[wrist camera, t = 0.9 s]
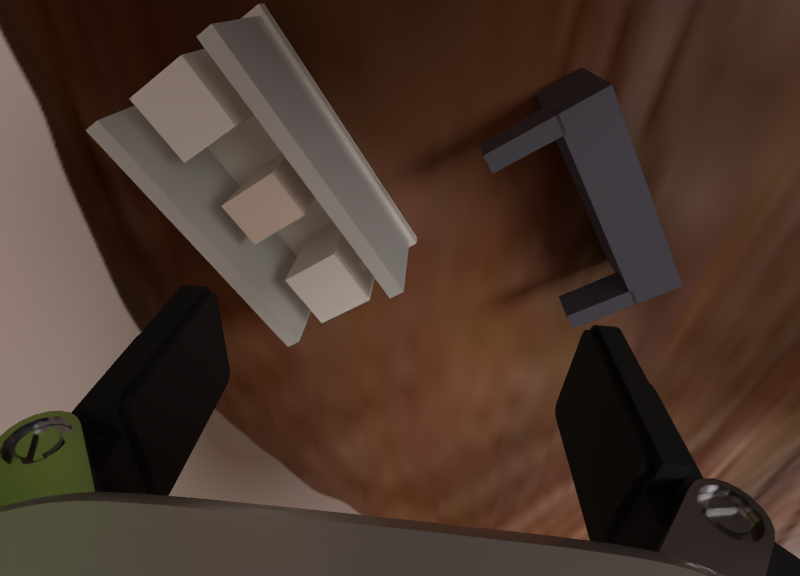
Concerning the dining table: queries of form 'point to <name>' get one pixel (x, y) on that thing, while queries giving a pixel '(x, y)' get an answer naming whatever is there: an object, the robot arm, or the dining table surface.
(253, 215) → the stand
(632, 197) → the grey bracket
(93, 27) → the dining table surface
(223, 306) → the dining table surface
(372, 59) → the dining table surface
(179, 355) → the robot arm
